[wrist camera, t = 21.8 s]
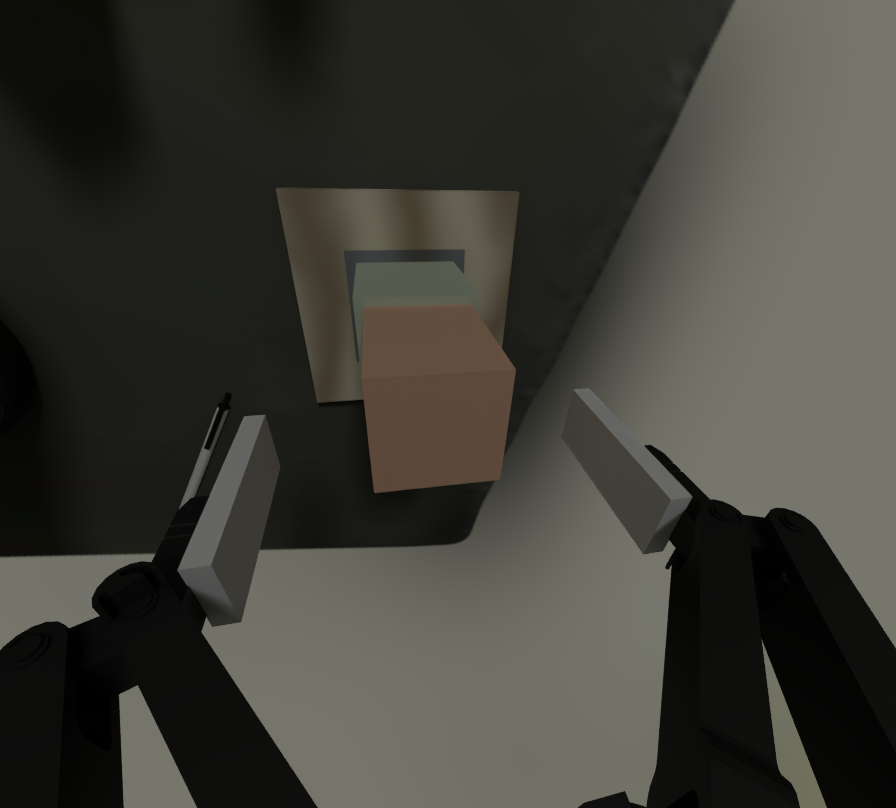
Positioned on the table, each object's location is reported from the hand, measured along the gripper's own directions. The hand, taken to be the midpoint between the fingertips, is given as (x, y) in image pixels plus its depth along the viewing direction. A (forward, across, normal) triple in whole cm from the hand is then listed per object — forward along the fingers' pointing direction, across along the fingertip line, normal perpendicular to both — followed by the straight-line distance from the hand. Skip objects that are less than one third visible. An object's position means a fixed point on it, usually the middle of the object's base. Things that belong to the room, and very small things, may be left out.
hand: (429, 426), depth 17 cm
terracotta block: (+8, 0, 0) cm, 8 cm away
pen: (+17, -19, -16) cm, 30 cm away
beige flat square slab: (+17, +1, 0) cm, 17 cm away
